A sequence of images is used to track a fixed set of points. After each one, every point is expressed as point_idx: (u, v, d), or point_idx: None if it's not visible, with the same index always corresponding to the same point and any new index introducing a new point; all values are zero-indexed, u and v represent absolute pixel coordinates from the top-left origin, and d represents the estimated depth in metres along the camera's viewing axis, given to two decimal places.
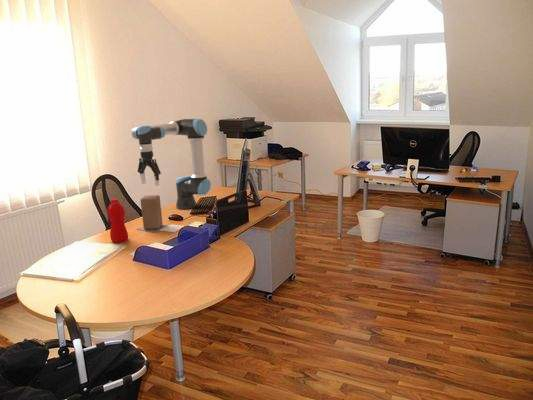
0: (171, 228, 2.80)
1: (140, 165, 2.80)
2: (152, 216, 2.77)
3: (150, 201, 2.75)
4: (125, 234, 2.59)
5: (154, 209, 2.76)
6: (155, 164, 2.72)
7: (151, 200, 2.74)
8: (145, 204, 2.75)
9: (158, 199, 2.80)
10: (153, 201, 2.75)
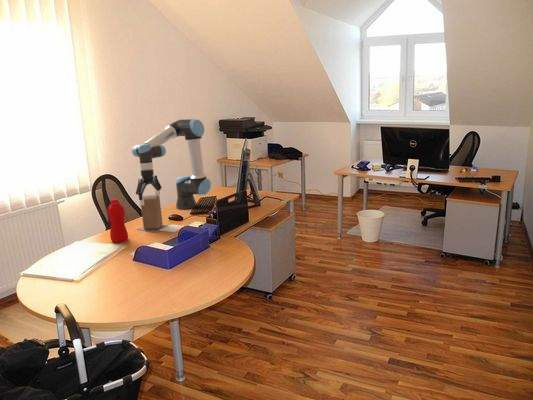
0: (171, 228, 2.80)
1: (155, 182, 2.83)
2: (152, 217, 2.77)
3: (150, 201, 2.74)
4: (125, 234, 2.59)
5: (154, 209, 2.76)
6: (139, 184, 2.70)
7: (151, 200, 2.74)
8: (145, 205, 2.75)
9: (158, 199, 2.80)
10: (153, 201, 2.74)
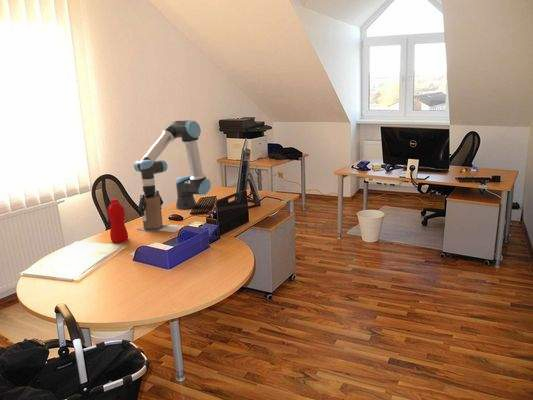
0: (171, 228, 2.80)
1: None
2: (152, 216, 2.77)
3: (150, 201, 2.75)
4: (125, 234, 2.59)
5: (154, 209, 2.76)
6: (141, 200, 2.73)
7: (151, 200, 2.74)
8: None
9: (158, 199, 2.80)
10: (153, 201, 2.74)
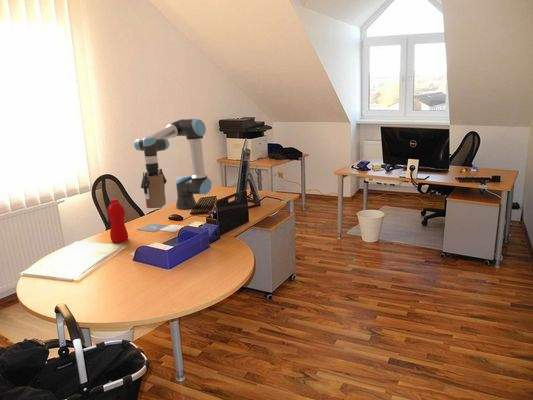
0: (171, 228, 2.80)
1: None
2: (155, 195, 2.72)
3: (153, 179, 2.70)
4: (125, 234, 2.59)
5: (157, 187, 2.71)
6: (144, 177, 2.68)
7: (154, 178, 2.70)
8: None
9: (161, 177, 2.75)
10: (156, 179, 2.70)
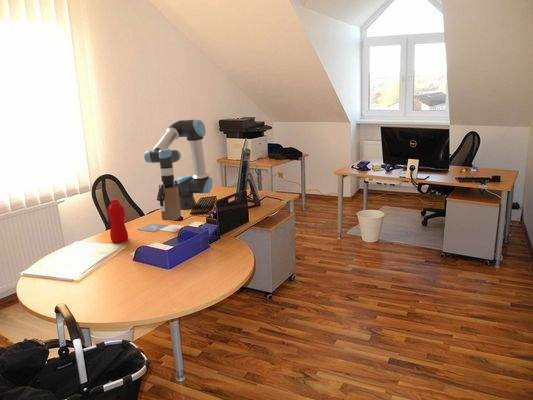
0: (171, 228, 2.80)
1: None
2: (171, 207, 2.71)
3: (169, 191, 2.69)
4: (125, 234, 2.59)
5: (173, 200, 2.70)
6: (160, 190, 2.67)
7: (170, 190, 2.69)
8: None
9: (177, 189, 2.74)
10: (172, 191, 2.69)
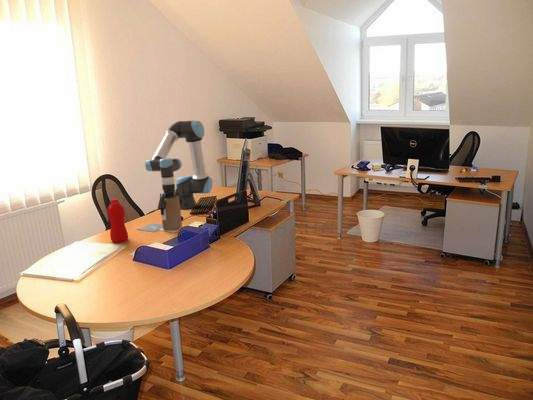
0: None
1: None
2: (172, 217, 2.73)
3: (170, 201, 2.71)
4: (125, 234, 2.59)
5: (174, 210, 2.72)
6: (161, 199, 2.69)
7: (171, 200, 2.70)
8: None
9: (178, 199, 2.76)
10: (173, 201, 2.70)
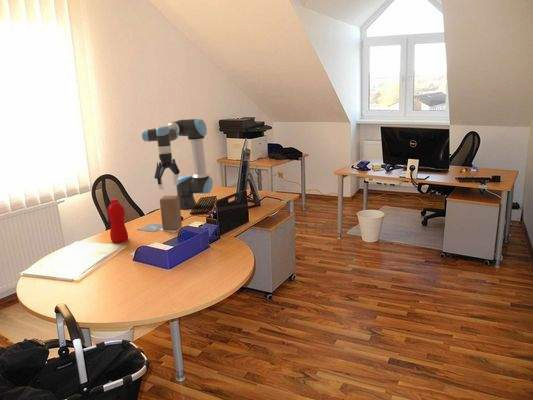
0: None
1: (173, 166, 2.77)
2: (171, 217, 2.73)
3: (169, 201, 2.71)
4: (125, 234, 2.59)
5: (174, 210, 2.72)
6: (157, 168, 2.64)
7: (170, 200, 2.70)
8: (164, 205, 2.71)
9: (177, 199, 2.76)
10: (172, 201, 2.70)
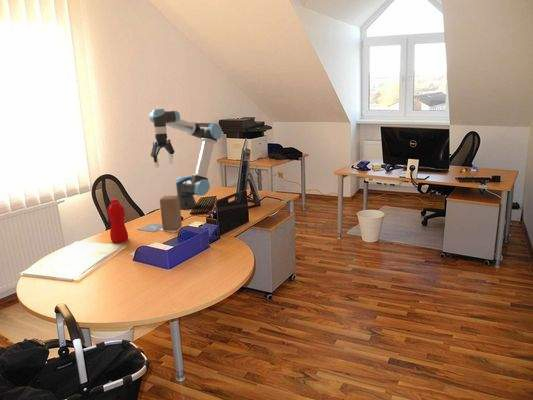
0: None
1: (168, 146, 2.97)
2: (171, 217, 2.73)
3: (169, 201, 2.71)
4: (125, 234, 2.59)
5: (174, 210, 2.72)
6: (154, 146, 2.84)
7: (170, 200, 2.70)
8: (164, 205, 2.71)
9: (177, 199, 2.76)
10: (172, 201, 2.70)
